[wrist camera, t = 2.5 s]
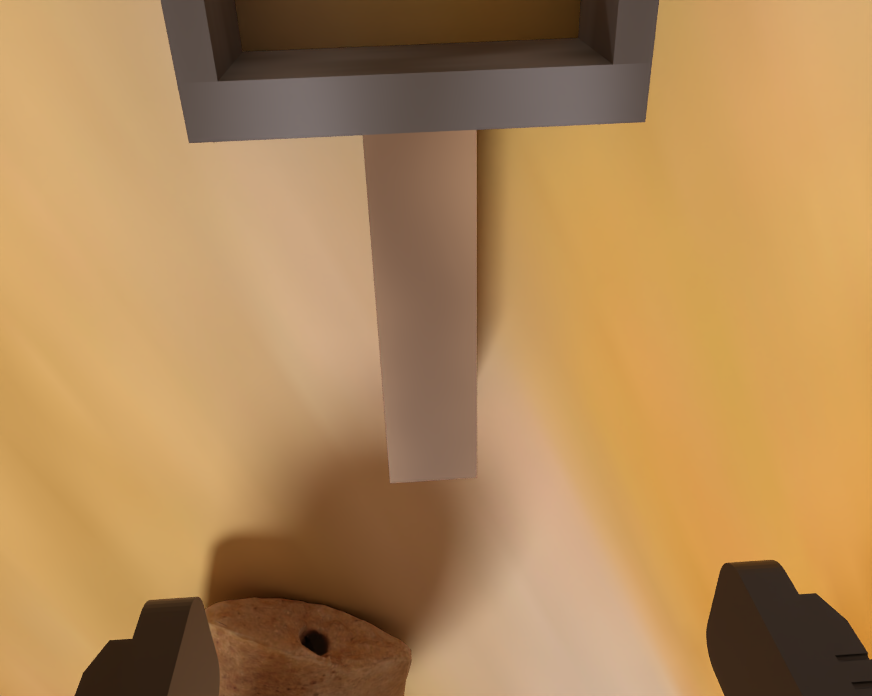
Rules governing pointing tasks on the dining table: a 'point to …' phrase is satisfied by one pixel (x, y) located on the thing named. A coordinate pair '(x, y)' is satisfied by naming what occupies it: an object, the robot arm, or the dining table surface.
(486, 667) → the dining table surface
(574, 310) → the dining table surface
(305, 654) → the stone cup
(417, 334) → the long-handled tray
